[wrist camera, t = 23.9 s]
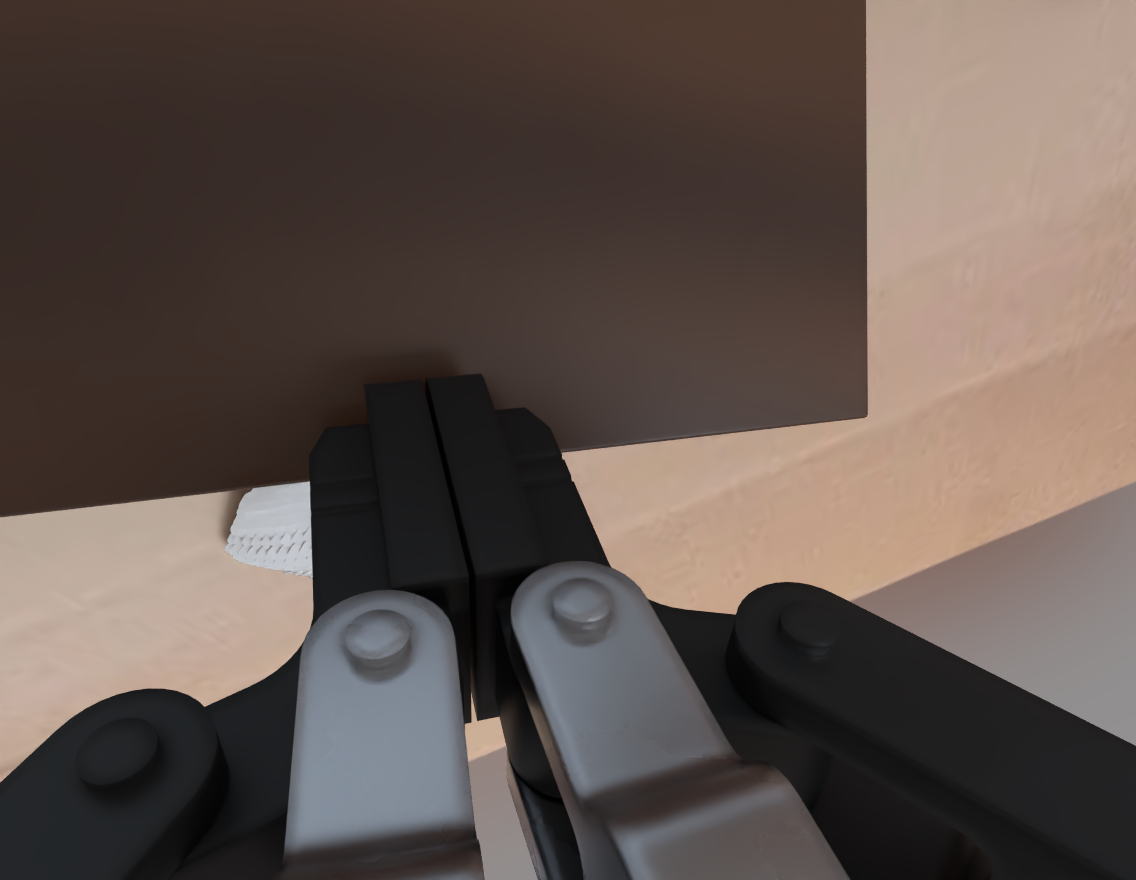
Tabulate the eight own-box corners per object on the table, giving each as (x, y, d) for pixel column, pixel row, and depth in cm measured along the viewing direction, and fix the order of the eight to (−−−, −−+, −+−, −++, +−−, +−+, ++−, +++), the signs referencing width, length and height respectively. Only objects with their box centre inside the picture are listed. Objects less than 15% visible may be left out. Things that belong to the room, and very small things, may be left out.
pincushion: (281, 590, 31) (280, 717, 26) (172, 487, 27) (150, 616, 22) (565, 448, 30) (611, 553, 26) (497, 322, 26) (538, 421, 22)
